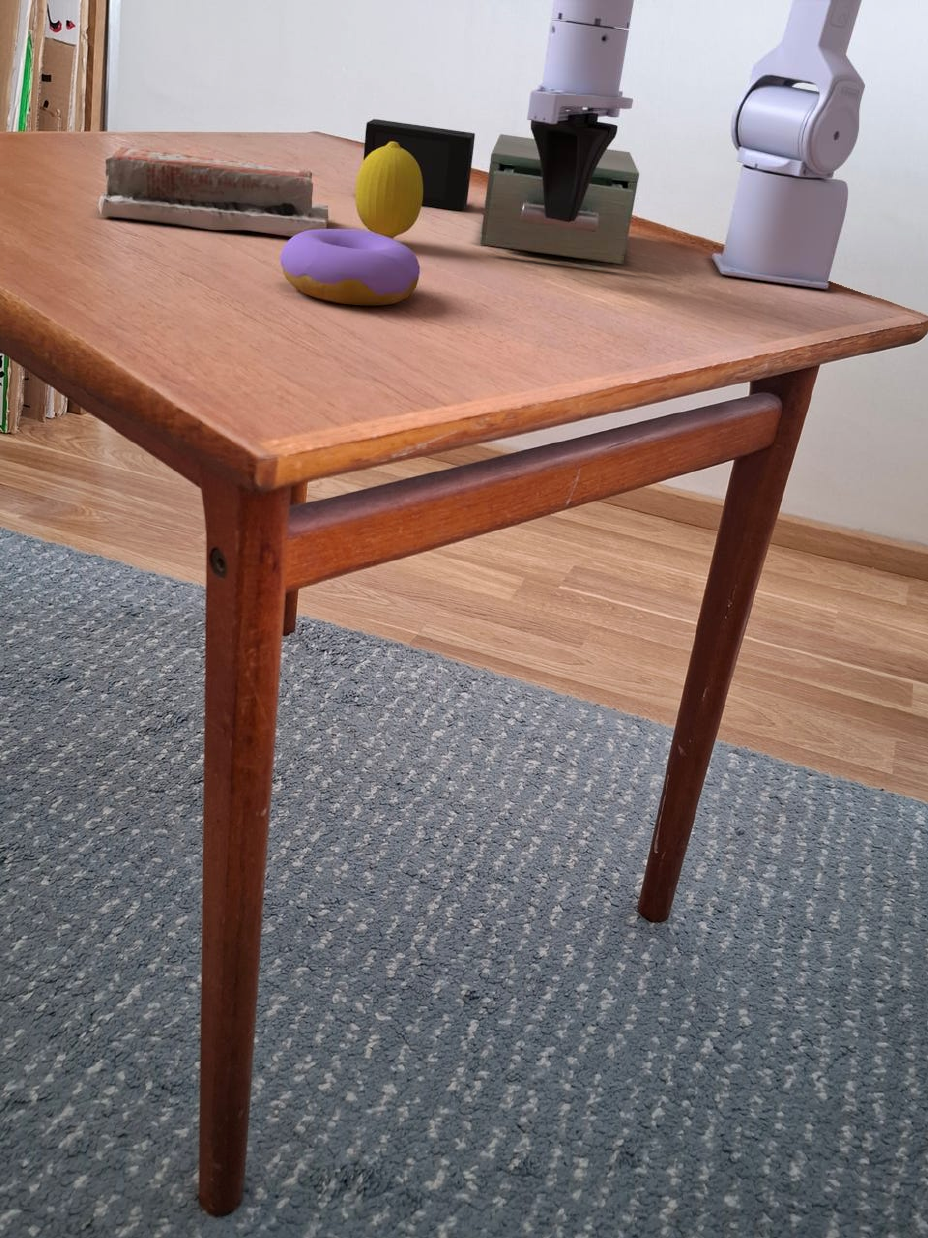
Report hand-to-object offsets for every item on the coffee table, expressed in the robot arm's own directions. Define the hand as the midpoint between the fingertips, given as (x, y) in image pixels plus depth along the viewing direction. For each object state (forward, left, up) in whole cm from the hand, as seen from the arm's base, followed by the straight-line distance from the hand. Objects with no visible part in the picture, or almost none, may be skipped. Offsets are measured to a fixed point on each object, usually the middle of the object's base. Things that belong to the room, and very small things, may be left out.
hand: (560, 218), depth 93 cm
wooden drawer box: (0, -18, -5) cm, 19 cm away
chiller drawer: (0, -11, -4) cm, 11 cm away
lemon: (+14, -5, -5) cm, 16 cm away
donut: (+14, +14, -5) cm, 20 cm away
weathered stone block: (+28, -5, -5) cm, 29 cm away
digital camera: (+14, -29, -5) cm, 33 cm away
